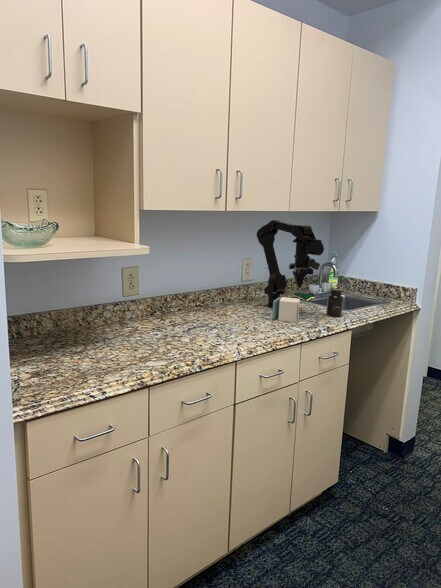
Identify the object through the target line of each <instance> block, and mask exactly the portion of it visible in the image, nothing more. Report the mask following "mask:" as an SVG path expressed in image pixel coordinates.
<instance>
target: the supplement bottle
mask: <svg viewBox="0 0 441 588" xmlns="http://www.w3.org/2000/svg"><path fill="white" fill-rule="evenodd" d="M342 292H343V290H342V289H339V288H331V289H330V294H329V295H328V296H327V301H326V303H327V304H326V313H325V314H326V316H329V317H332V318H333V317H335V318H340V317H342V314H343V305H344V296H343V295H342V294H343V293H342Z"/></svg>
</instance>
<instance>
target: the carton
mask: <svg viewBox="0 0 441 588" xmlns="http://www.w3.org/2000/svg"><path fill="white" fill-rule="evenodd" d="M280 298H281V299H280V303H279V316H278V317H277V318H278V321H280V322H291V323H292V322H293V323H298V321H299V316H300V304H301V299H300V298H296V297H295V298H294V297H280Z"/></svg>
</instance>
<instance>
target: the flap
mask: <svg viewBox="0 0 441 588" xmlns="http://www.w3.org/2000/svg"><path fill="white" fill-rule="evenodd" d="M281 298H282V297H280V298H279V297H278V299H276V300H274V301H273V307H272V313H271V315H272V317H271V319H272V320H275V319H277V318H279V303H280V299H281Z"/></svg>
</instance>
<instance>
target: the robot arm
mask: <svg viewBox="0 0 441 588" xmlns="http://www.w3.org/2000/svg"><path fill="white" fill-rule="evenodd" d="M279 231H283V232H286V233H290V234H291V236H293V237H295V238H294V239H293V240H292V243H295V254H294V255H293V258H294V262H291V263H289V264H288V269H289V270H292V275H293V277H294V280H295V282H296V285H297V287H298V288H300V289H301V287H302V285H303V283H304V280H305V278H306V277H307V276H308V275H314V270H316V271H318V270H319V268H320V266H321V263H319V262H318V261H317V262H316V259H314V258H311V256H310V255H312V256H322V254H323V253H324V251H325V247H324V244H323V242H322V239H317V238H316V236H315V234H314V231H313V228H312V227H311V226H310V225H309V224H308V225H307V224H304V225H302V224H298V225H297V224H293V223H290V222H285V221H281V220H277V219H272V220H271V221H270V220H269V222H267V223H266V224H265V225H263V226H261V227H260V228H259V229H258V230H257V232H256V238H257V241H258V243H259V244H260V245H261V247H262V248H263V251H264V256H265V260H266V265H267V268H268V272H269V277H268V280H267V282H268V285H266V287H265V288H264V295H268V296H267V303H266V304H265V305H266V307H268V308H273V301H274V300H276V299H278V297H279V298H281V295H284V294H285V291H286V289H287V287H288V286H287V285H288V282H287V278H286V275H285V274H281V271H280V267H279V264H278V263H279V262H278V259H277V256H276V251H275V247H274V243H275V240H276V237H275V236H276V235H277V234H278V232H279Z"/></svg>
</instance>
